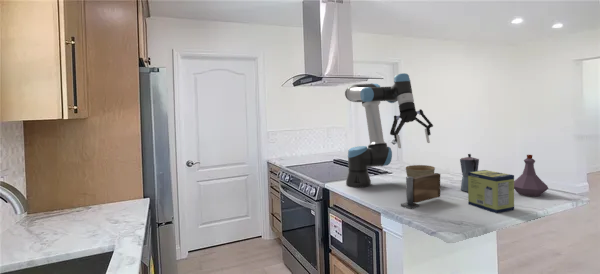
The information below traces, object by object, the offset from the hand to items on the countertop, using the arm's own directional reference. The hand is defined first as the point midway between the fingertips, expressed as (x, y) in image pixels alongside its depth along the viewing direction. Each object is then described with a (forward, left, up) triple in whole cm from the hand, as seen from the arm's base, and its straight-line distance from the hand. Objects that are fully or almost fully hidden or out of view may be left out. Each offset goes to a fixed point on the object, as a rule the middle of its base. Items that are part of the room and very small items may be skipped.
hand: (413, 145), depth 158 cm
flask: (+24, +56, -28) cm, 67 cm away
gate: (+3, +5, -27) cm, 27 cm away
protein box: (+25, +21, -28) cm, 43 cm away
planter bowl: (-22, +30, -28) cm, 47 cm away
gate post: (+3, -6, -28) cm, 29 cm away
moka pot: (+3, +40, -28) cm, 49 cm away
